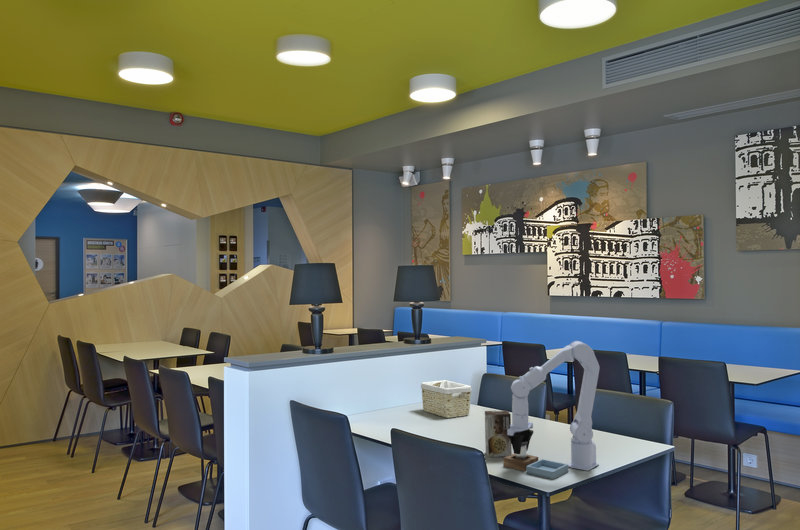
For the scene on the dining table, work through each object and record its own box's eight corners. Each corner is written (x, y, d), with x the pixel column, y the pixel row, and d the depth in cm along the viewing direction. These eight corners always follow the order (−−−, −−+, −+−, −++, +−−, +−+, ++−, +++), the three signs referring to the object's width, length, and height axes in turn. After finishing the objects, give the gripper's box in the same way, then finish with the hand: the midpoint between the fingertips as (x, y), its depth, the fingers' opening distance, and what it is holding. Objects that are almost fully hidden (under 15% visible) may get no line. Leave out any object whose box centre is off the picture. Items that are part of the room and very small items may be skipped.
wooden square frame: (516, 460, 230) (516, 452, 230) (538, 465, 224) (538, 456, 224) (503, 466, 223) (503, 457, 223) (525, 471, 217) (525, 462, 217)
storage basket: (419, 410, 318) (419, 381, 319) (446, 407, 326) (445, 379, 327) (445, 419, 298) (445, 388, 298) (473, 415, 306) (473, 385, 306)
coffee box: (508, 452, 241) (507, 410, 242) (511, 456, 235) (511, 413, 235) (484, 452, 241) (484, 410, 241) (487, 457, 234) (487, 414, 235)
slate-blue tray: (542, 466, 223) (542, 459, 223) (568, 471, 216) (568, 464, 216) (526, 473, 214) (526, 466, 215) (552, 479, 208) (552, 471, 208)
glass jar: (518, 463, 227) (518, 438, 227) (530, 465, 224) (529, 440, 224) (511, 466, 223) (511, 441, 223) (523, 468, 220) (523, 443, 220)
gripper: (520, 409, 232) (521, 445, 231) (499, 415, 221) (500, 454, 221) (537, 411, 227) (538, 449, 227) (517, 418, 216) (517, 457, 216)
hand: (520, 452), depth 223 cm, fingers closed on glass jar, 5 cm apart
